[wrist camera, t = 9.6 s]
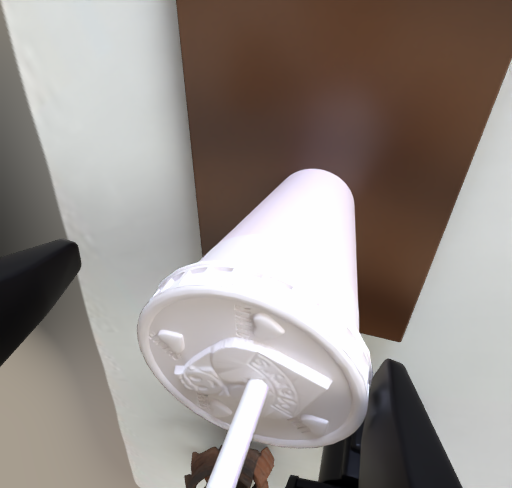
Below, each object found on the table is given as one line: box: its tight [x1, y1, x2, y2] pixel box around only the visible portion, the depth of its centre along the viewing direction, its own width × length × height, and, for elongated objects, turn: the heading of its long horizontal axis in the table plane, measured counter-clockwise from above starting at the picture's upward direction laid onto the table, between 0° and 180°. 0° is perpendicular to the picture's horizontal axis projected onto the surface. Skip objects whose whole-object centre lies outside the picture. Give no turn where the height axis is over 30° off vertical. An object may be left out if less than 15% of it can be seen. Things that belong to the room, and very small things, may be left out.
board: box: [176, 0, 512, 342], centre depth 16 cm, size 20×12×2 cm, turn 0°
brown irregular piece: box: [185, 445, 274, 488], centre depth 36 cm, size 12×10×8 cm
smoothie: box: [137, 169, 373, 488], centre depth 11 cm, size 6×6×14 cm
